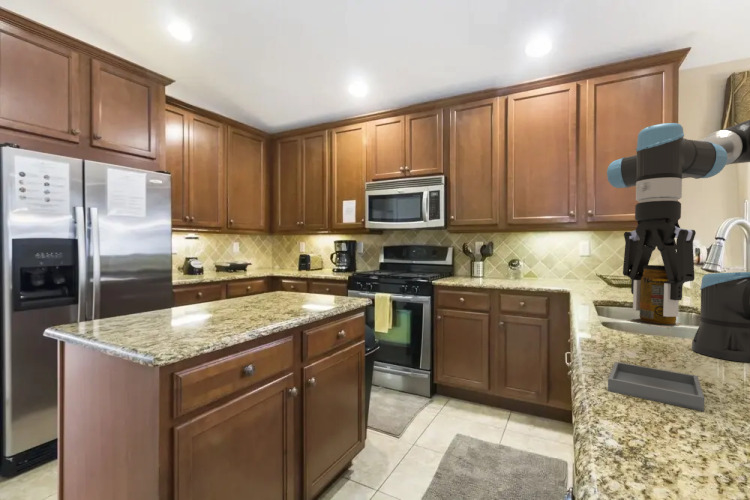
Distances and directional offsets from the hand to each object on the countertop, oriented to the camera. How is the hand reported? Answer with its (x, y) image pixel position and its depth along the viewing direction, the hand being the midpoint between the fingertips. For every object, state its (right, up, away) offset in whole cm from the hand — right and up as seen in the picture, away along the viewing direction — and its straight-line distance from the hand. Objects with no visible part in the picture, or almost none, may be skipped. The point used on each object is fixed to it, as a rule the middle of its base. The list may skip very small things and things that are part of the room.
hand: (654, 312), depth 75 cm
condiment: (0, -2, 0) cm, 2 cm away
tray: (0, -16, 0) cm, 16 cm away
